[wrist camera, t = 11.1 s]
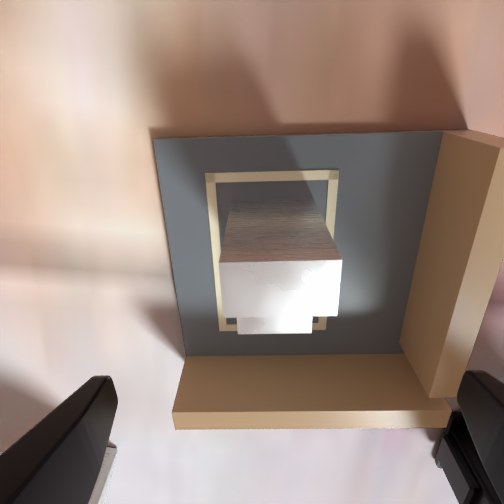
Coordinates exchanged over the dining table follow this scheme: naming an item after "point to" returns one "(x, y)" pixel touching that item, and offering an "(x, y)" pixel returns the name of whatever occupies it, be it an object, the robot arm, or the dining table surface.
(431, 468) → the dining table surface
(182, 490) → the dining table surface
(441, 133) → the corner tray
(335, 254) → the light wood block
